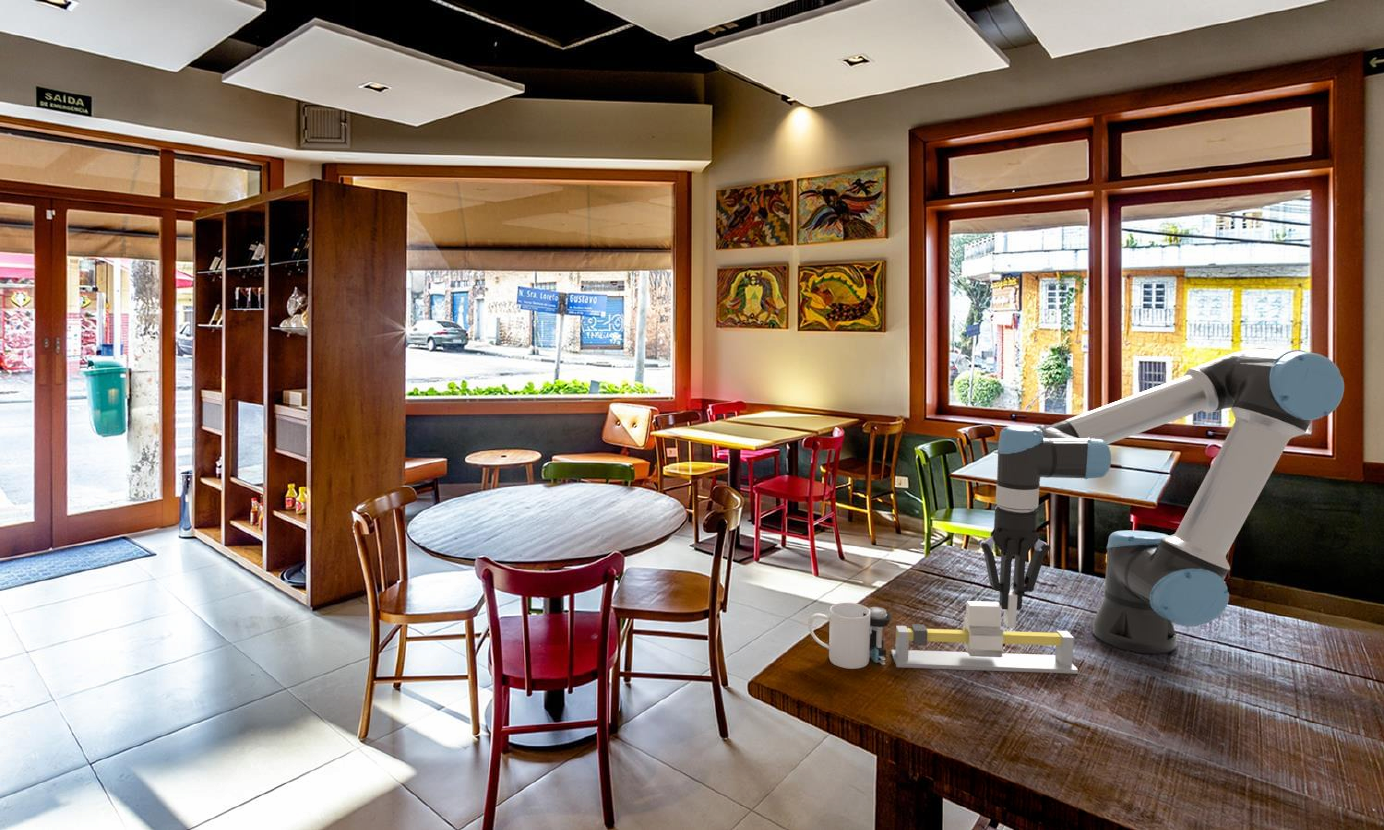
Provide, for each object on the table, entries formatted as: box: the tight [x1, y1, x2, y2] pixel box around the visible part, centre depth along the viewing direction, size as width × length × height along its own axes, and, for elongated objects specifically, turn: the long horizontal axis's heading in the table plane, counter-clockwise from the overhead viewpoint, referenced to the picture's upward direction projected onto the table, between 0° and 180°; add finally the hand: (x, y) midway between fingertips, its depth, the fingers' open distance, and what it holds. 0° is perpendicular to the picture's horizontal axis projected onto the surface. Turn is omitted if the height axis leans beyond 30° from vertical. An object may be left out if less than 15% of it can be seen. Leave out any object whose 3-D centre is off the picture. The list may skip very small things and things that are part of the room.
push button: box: [863, 606, 892, 666], centre depth 148 cm, size 7×5×10 cm
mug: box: [807, 602, 871, 670], centre depth 147 cm, size 12×8×10 cm, turn 92°
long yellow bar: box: [895, 623, 1062, 647], centre depth 146 cm, size 32×3×3 cm, turn 84°
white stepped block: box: [961, 600, 1004, 657], centre depth 145 cm, size 6×6×10 cm
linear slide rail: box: [890, 625, 1079, 675], centre depth 146 cm, size 34×6×7 cm, turn 84°
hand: (1009, 624), depth 145 cm, fingers closed
